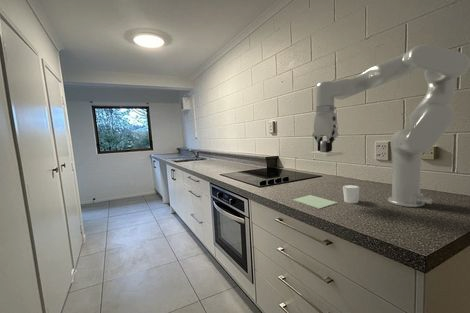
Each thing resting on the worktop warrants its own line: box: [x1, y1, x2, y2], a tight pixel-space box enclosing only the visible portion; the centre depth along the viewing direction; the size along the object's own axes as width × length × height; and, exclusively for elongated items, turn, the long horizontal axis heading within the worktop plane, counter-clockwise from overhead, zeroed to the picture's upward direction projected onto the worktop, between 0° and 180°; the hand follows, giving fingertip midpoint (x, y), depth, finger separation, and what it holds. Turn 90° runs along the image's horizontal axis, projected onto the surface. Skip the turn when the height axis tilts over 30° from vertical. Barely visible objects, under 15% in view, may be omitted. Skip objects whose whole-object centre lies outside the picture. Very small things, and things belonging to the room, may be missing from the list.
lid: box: [306, 140, 344, 157], centre depth 101 cm, size 11×11×6 cm
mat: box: [292, 194, 338, 210], centre depth 105 cm, size 16×12×1 cm
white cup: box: [342, 184, 360, 204], centre depth 101 cm, size 7×7×7 cm
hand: (324, 150), depth 101 cm, fingers closed on lid, 4 cm apart
